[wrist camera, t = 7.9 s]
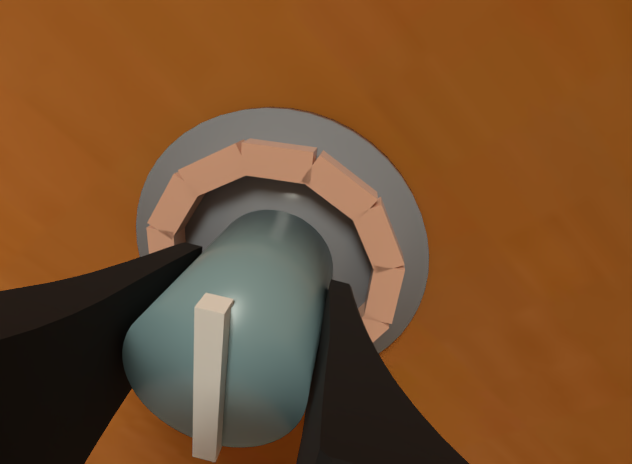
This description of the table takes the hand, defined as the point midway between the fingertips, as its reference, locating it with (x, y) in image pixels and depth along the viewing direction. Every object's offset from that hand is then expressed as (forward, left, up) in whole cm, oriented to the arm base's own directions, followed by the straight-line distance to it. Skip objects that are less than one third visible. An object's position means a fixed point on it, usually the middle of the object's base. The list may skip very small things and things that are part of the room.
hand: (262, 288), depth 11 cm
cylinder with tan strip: (0, 0, -2) cm, 2 cm away
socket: (0, 0, -2) cm, 2 cm away
